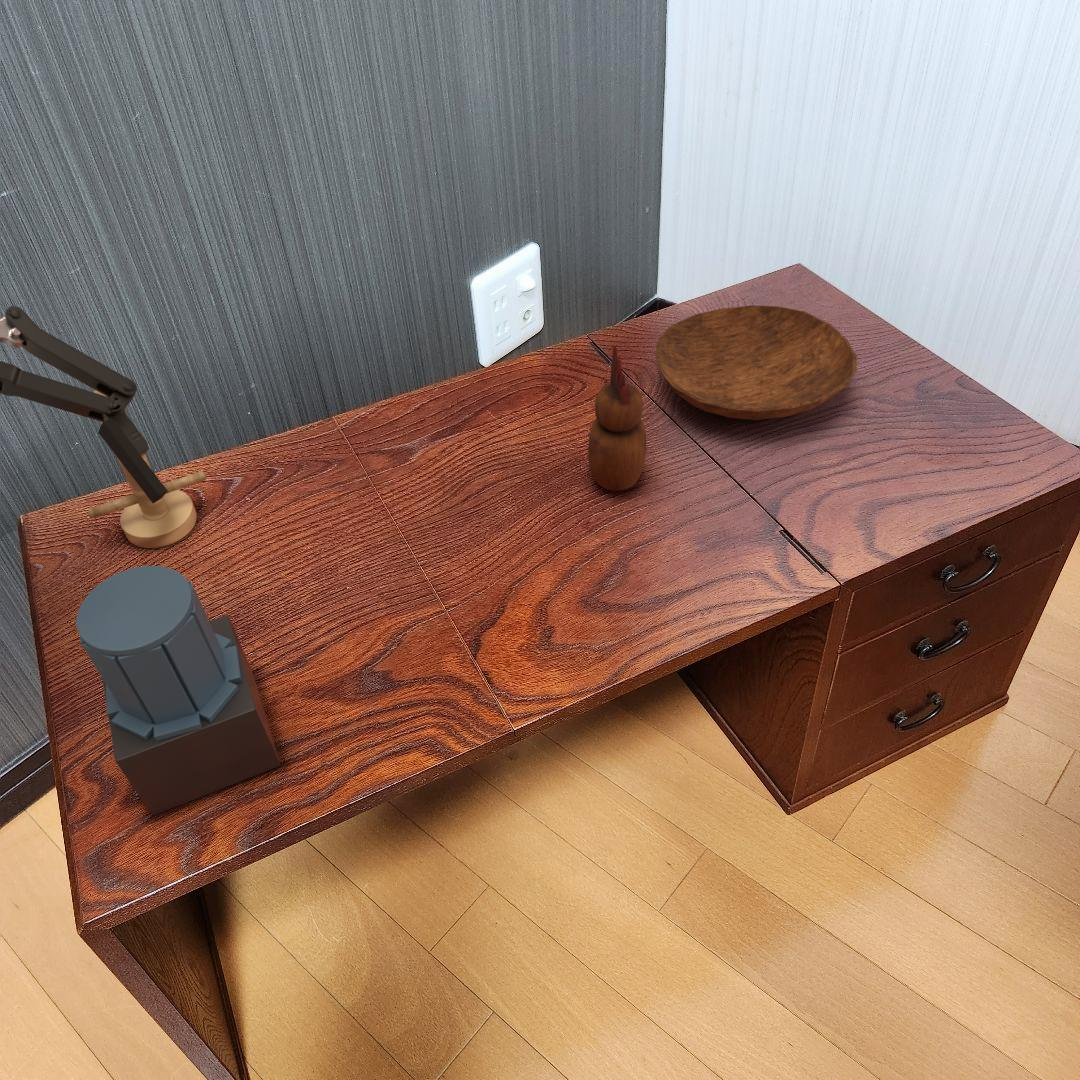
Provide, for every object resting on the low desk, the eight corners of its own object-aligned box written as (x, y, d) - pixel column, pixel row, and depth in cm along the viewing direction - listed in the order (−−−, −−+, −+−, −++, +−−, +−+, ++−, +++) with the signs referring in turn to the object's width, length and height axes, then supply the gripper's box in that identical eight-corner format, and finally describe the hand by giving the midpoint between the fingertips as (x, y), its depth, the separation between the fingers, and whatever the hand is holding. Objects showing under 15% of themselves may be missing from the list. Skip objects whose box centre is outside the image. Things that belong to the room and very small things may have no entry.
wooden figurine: (591, 455, 99) (593, 334, 88) (646, 458, 98) (654, 337, 87) (584, 498, 94) (585, 377, 83) (641, 502, 94) (649, 380, 83)
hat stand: (110, 566, 90) (41, 437, 78) (97, 522, 94) (30, 394, 82) (226, 524, 93) (177, 395, 82) (208, 483, 98) (159, 356, 86)
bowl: (879, 426, 101) (890, 389, 97) (686, 461, 98) (690, 424, 94) (802, 328, 114) (810, 292, 111) (631, 357, 111) (632, 320, 108)
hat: (80, 709, 68) (29, 633, 62) (170, 617, 74) (131, 539, 68) (181, 758, 65) (137, 683, 59) (266, 658, 71) (234, 580, 65)
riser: (152, 816, 71) (115, 761, 65) (134, 716, 77) (98, 658, 72) (281, 766, 74) (256, 709, 68) (253, 673, 80) (228, 614, 74)
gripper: (43, 243, 72) (212, 469, 76) (-321, 397, 59) (-96, 661, 63) (49, 196, 66) (234, 446, 69) (-356, 358, 53) (-103, 653, 56)
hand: (78, 549), depth 66 cm, fingers open, 13 cm apart
